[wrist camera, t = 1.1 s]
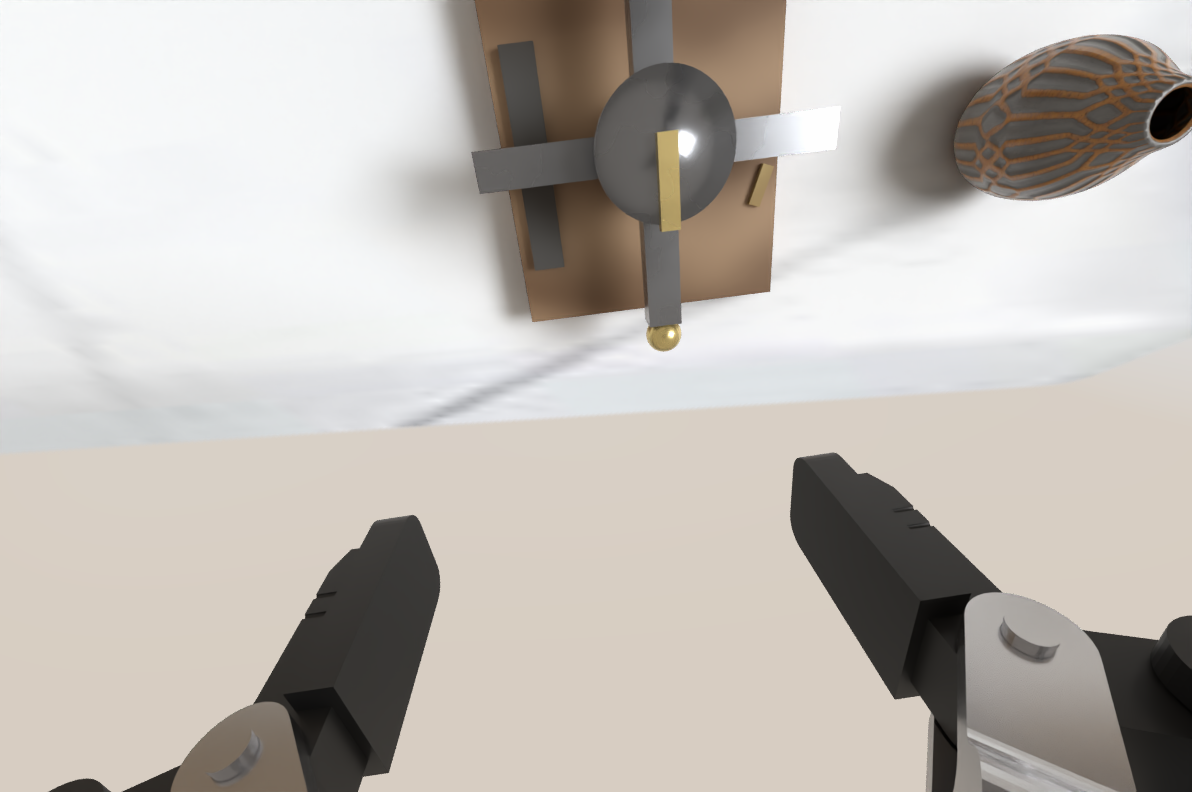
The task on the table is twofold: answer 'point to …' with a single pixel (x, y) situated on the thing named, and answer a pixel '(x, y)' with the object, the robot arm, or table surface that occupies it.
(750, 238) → the stand
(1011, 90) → the vase
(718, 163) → the capstan
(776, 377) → the table surface
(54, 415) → the table surface
